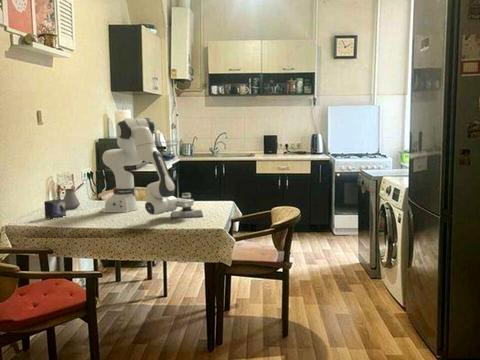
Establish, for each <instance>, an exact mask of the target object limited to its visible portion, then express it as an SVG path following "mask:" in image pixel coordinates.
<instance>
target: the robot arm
mask: <svg viewBox="0 0 480 360" xmlns="http://www.w3.org/2000/svg"><path fill="white" fill-rule="evenodd" d="M115 129H116V134H117V139H116V144H117V147H118V148H113V149H108V150H105V151H104V153H102V162H103V164H104V165H105V166H106V167H108V168H109V169H110V170H111V172H112V173H113V175H114V179H115V185H116V186H115V187H113V190H112V193H113V194H111V196H110V197H108V198H107V199H106V200H105V203H104V207H103V208H101V210H100V211H101V212H102V213H127V212H132V211H136V210H138V209H139V208H138V207H139V206H138V204H137V200H136V188H135V181H134V180H135V177H134V174H133V173H131V172H130V171H127V170H125V168H124V167H127V166H136V165H140V164H142V163H143V161H144V162H146V163H151V164H153V166H154V168H155V171H156V172H157V175H158V177H159V180H158V181H154V182H151V183H149V184H147V185H146V188H145V194H146V201H145V204H144V208H145V211H146V212H147V213H148V214H149V215H152V216H157V215H162V214H164V213H170V212H171V213H172V211H177V209H178V208H182V207H190V206H191V207H193V206H194V202H195V200H194V199H193V198H191V199H182V197H175V196H174V194H175V192H176V191H175V190H176V185H175V182H174V180H173V179H172V177H171V175H170V172H169V170H168V169H169V168H168V166H167V164H166V161H165V158H164V157H163V155H162V153H161V152H160V151H159V150H158V149H157V146H156V143H155V139H154V136H153V134H154V132H155V123H154V121H153V120H152V119H151V118H149V117H143V118H140V117H139V118H132V117H131V118H130V117H127V118H124V119H123V120H121V121H118V123H117V124H116V128H115Z"/></svg>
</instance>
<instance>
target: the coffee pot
mask: <svg viewBox="0 0 480 360" xmlns="http://www.w3.org/2000/svg"><path fill="white" fill-rule="evenodd" d="M84 185H86V183H84V182H82V183H81V184H80V185H78V186H77V187H76V188H65V189H64V191H65V195H64V197H63V199H62V200H65V208H66V210H75V208H76V209H78V207H80V205H81V203H80V202H81V201H79V199H78V197H77V195H76V191H77V190H79V189H80V188H81V187H82V186H84Z"/></svg>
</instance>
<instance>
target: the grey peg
mask: <svg viewBox="0 0 480 360" xmlns="http://www.w3.org/2000/svg"><path fill="white" fill-rule="evenodd" d="M191 197H192V193H191V192H182V193H181V198H182V199H192V198H191ZM181 209H182V210H183V211H191V209H192V206H190V207H181Z"/></svg>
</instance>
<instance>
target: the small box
mask: <svg viewBox="0 0 480 360" xmlns="http://www.w3.org/2000/svg"><path fill="white" fill-rule="evenodd" d="M43 202H44V219H45V218H50V219H49V220H51V219H52V220H54V219H53V218H57V219H59V218H58V217H61V218H64V217H63V216H66V217H67V211H66V210H67V209H66V208H65V200H63V199H61V198H56V199H51V200H46V201H43Z"/></svg>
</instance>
